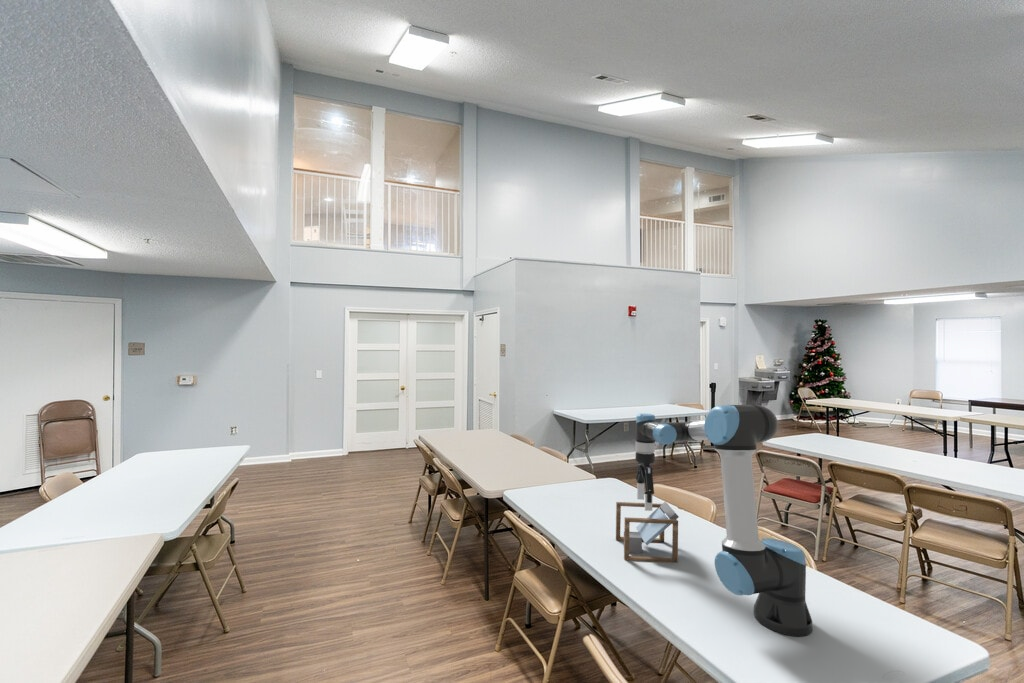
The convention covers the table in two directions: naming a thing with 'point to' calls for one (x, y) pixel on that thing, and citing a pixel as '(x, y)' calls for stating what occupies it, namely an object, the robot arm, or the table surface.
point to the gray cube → (635, 542)
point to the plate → (654, 529)
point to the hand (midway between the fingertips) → (644, 504)
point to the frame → (626, 539)
